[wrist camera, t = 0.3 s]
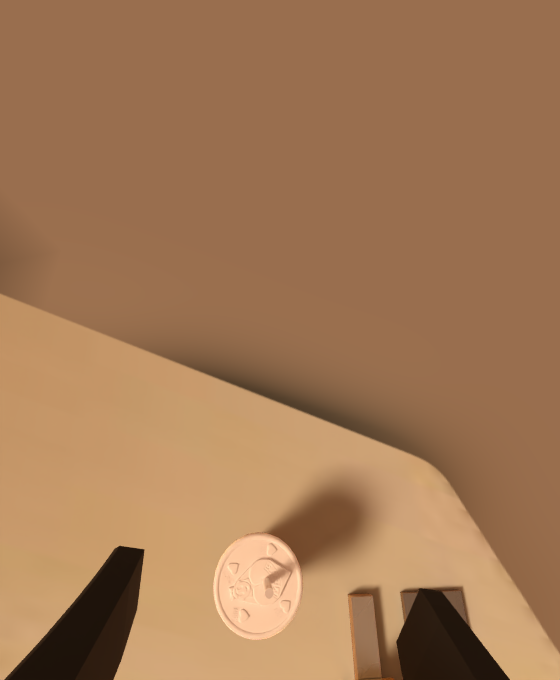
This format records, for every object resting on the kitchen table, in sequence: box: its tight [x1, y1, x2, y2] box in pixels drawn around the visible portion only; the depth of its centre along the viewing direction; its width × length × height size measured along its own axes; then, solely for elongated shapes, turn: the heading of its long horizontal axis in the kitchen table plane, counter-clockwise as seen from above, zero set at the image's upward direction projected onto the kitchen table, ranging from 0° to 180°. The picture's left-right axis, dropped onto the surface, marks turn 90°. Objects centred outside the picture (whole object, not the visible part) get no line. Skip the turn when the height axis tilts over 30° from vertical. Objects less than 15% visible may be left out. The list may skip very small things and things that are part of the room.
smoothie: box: [213, 532, 303, 640], centre depth 28 cm, size 6×6×14 cm
